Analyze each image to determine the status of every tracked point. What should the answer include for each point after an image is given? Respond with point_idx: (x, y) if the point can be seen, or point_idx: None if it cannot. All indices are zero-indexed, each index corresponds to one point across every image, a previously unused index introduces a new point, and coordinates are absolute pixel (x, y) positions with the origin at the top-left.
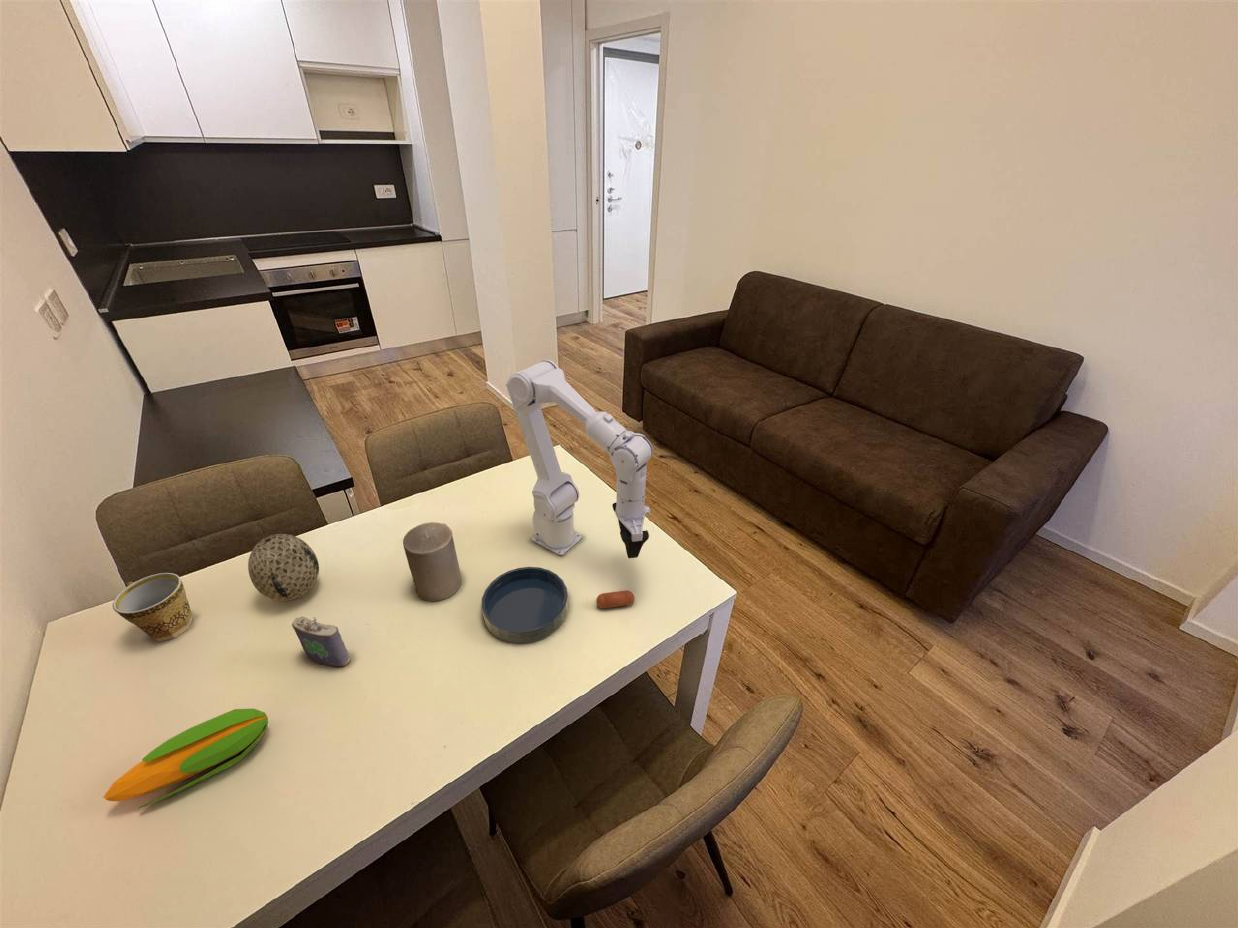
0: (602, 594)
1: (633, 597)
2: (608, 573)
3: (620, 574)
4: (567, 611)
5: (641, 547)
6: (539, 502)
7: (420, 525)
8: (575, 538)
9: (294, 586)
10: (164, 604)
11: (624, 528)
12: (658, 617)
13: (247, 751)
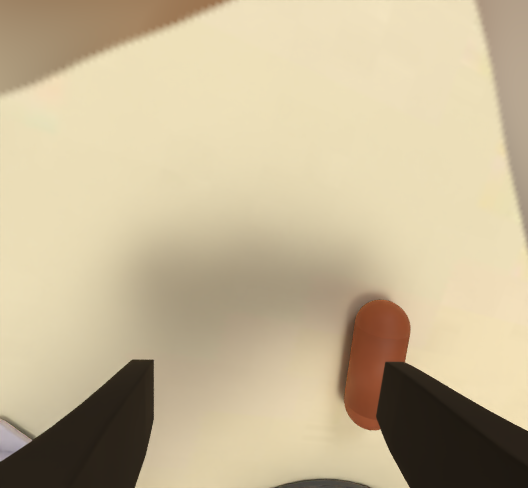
0: (371, 420)
1: (401, 311)
2: (222, 348)
3: (237, 309)
4: (350, 482)
5: (507, 421)
6: None
7: None
8: (7, 446)
9: None
10: None
11: (140, 441)
12: (463, 229)
13: None
